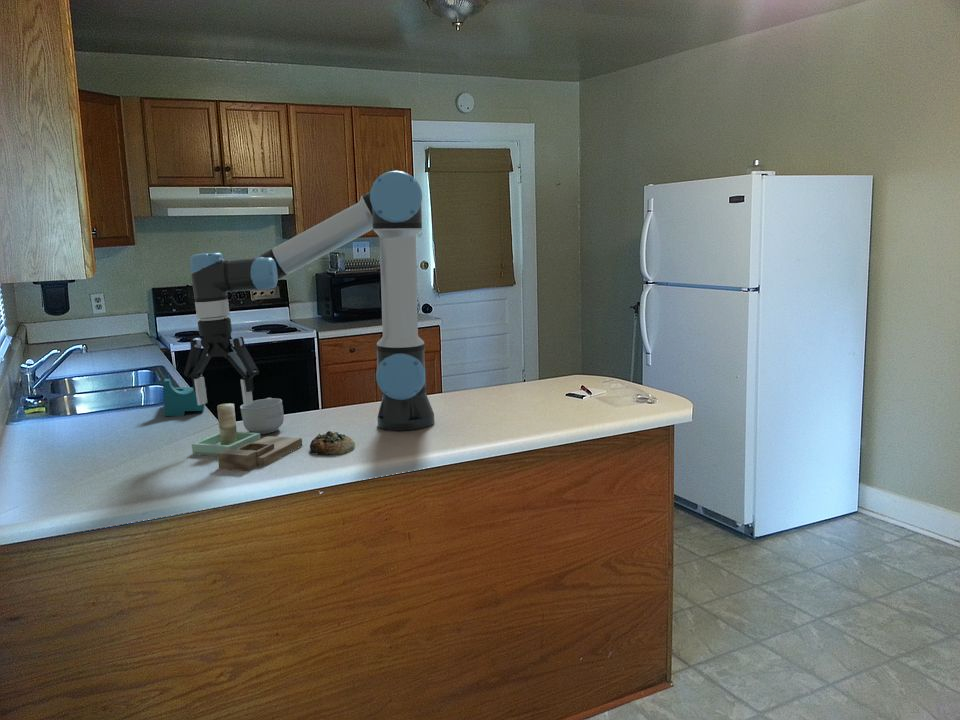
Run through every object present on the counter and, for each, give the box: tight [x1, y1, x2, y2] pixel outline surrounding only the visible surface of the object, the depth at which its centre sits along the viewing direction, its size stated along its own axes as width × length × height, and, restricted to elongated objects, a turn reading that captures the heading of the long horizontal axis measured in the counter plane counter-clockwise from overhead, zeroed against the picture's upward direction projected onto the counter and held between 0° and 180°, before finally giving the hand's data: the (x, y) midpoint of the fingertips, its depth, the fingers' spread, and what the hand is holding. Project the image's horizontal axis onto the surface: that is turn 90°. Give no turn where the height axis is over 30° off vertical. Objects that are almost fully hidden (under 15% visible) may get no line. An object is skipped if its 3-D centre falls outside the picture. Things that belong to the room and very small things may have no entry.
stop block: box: [217, 450, 258, 472], centre depth 173 cm, size 8×3×4 cm, turn 70°
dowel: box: [216, 402, 238, 445], centre depth 189 cm, size 4×4×10 cm
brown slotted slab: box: [235, 435, 303, 467], centre depth 182 cm, size 10×16×4 cm, turn 161°
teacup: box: [239, 397, 285, 435], centre depth 204 cm, size 14×11×8 cm
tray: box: [191, 431, 262, 457], centre depth 189 cm, size 11×12×2 cm
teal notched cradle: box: [163, 378, 207, 417], centre depth 234 cm, size 18×11×10 cm, turn 17°
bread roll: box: [309, 430, 356, 456], centre depth 185 cm, size 11×11×5 cm
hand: (225, 404), depth 187 cm, fingers open, 13 cm apart
